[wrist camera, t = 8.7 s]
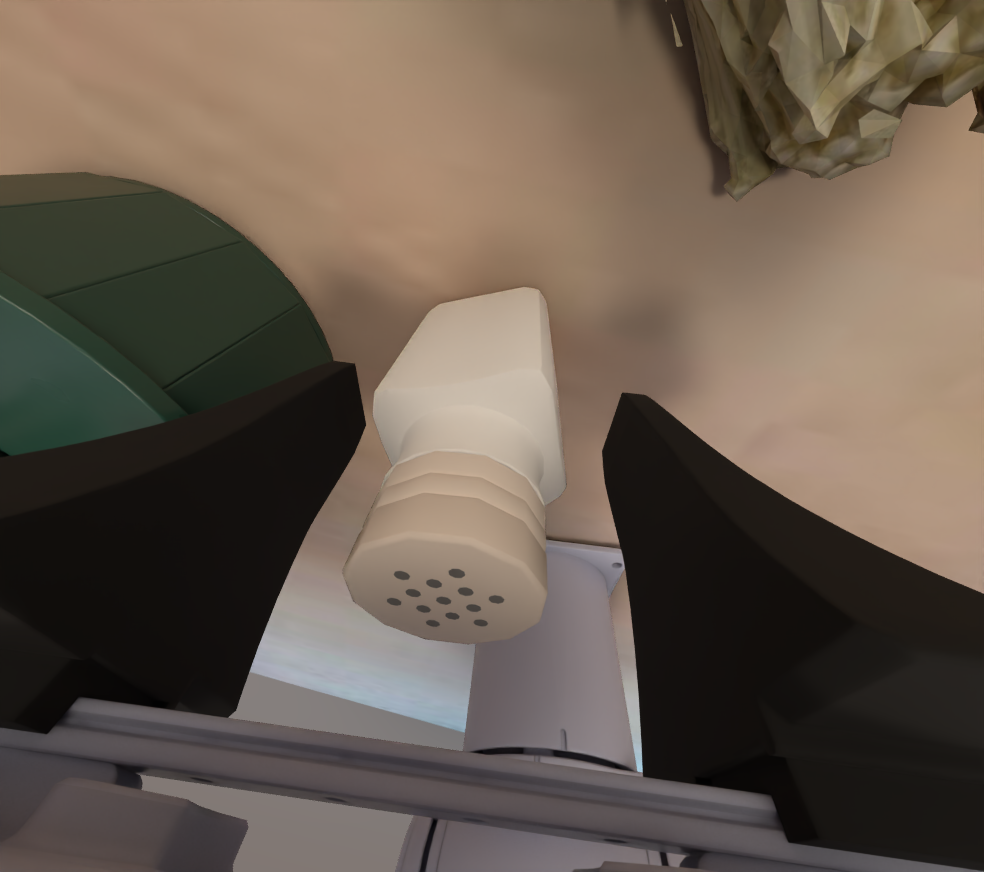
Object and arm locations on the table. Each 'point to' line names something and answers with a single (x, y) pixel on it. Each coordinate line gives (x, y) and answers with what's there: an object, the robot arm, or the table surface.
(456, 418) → the salt shaker
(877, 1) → the olive fibrous lump
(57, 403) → the pot lid
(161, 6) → the table surface
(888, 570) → the robot arm
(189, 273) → the pot
